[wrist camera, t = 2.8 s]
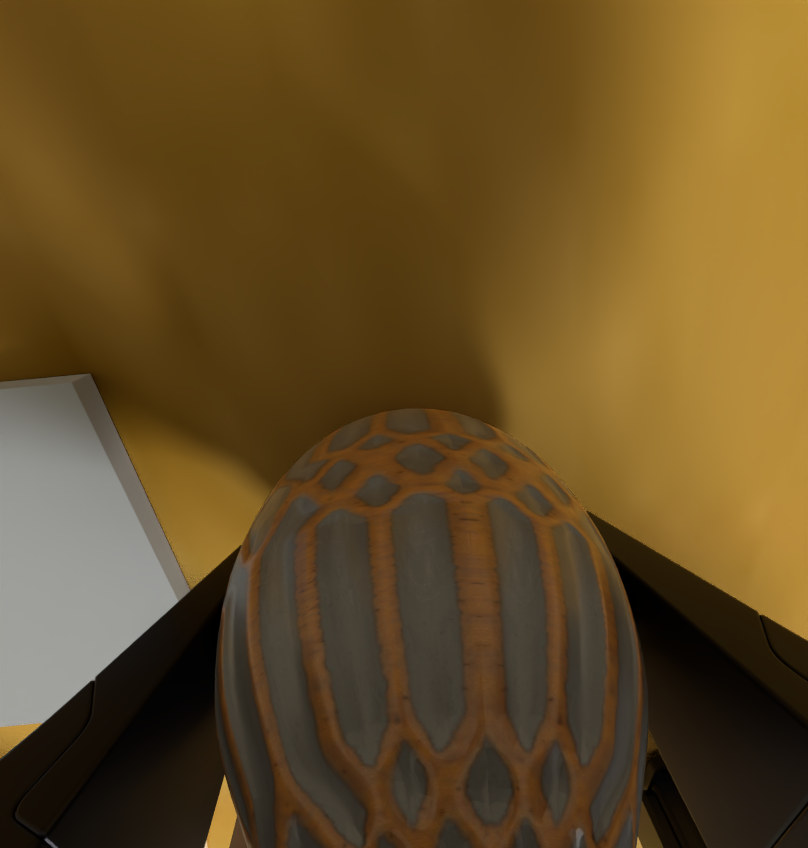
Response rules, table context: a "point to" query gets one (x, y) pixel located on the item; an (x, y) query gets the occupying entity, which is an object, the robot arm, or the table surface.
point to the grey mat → (71, 546)
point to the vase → (429, 651)
